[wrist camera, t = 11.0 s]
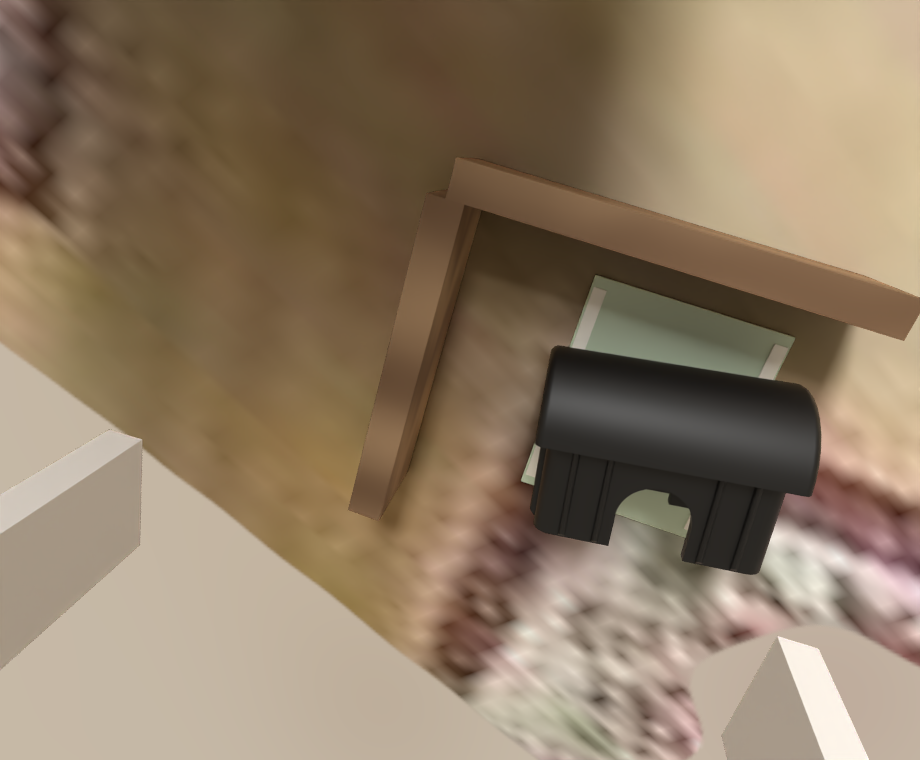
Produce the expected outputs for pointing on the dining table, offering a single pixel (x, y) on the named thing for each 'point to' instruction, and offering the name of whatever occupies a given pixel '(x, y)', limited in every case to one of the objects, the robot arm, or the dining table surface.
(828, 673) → the robot arm
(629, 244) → the brown l-shaped piece
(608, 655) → the dining table surface
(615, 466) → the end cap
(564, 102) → the dining table surface
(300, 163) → the dining table surface
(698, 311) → the pad
